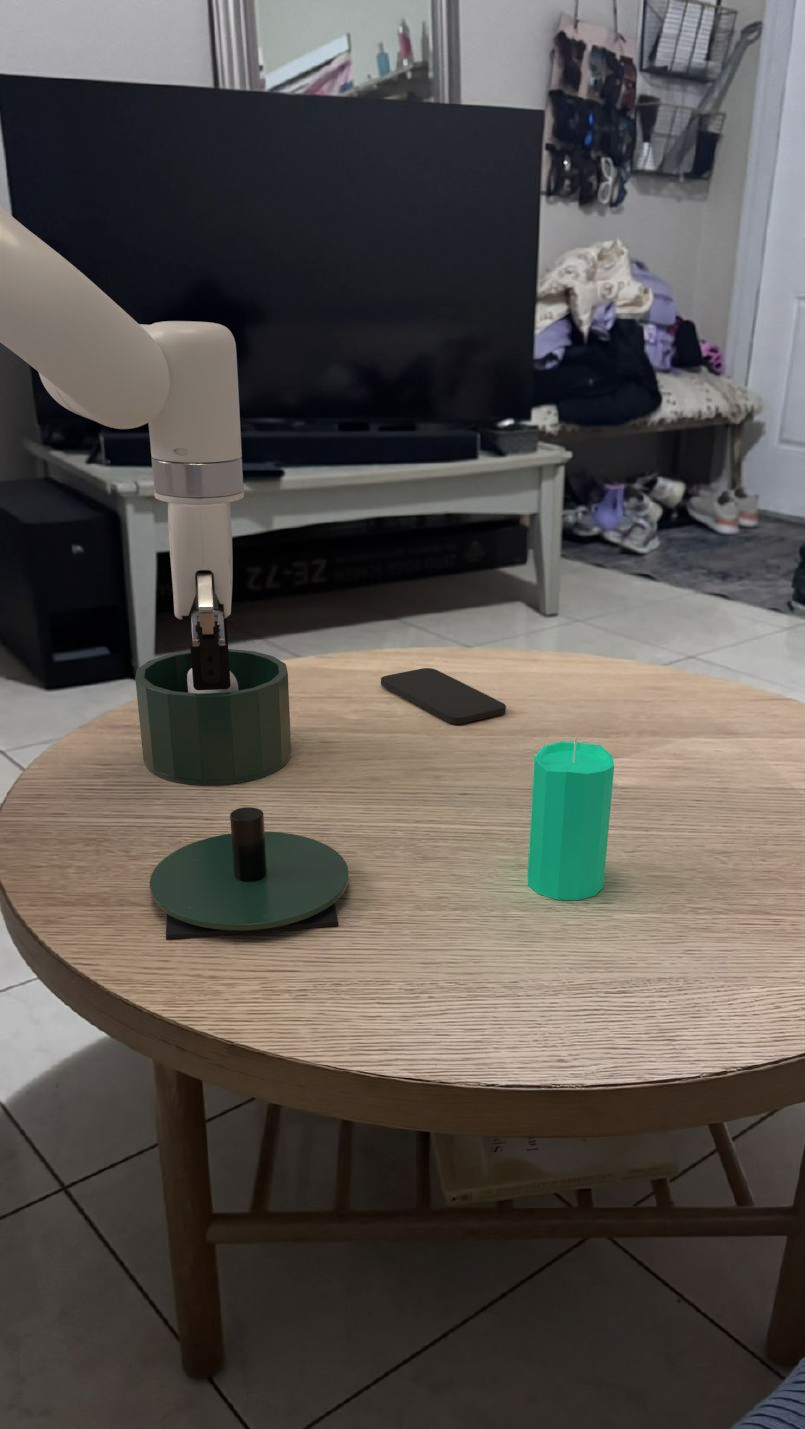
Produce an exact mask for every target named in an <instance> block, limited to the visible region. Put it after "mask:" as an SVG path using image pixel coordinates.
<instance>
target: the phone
mask: <svg viewBox="0 0 805 1429" xmlns="http://www.w3.org/2000/svg"><path fill="white" fill-rule="evenodd" d="M380 685H381V687H383V688H385V689H387V690H389V691H391V692H392V693H394V694H396V695H398V696H399V697H402V698H403V699H405V700H407V701H409V702H411V703H412V704H415V705H416V706H417V707H420V708H421V709H423V710H425V711H427V712H428V713H431V714H432V715H434V716H436V717H437V718H439V719H442V720H444V721H445V722H447V723H450V724H454V725H461V724H466V723H471V722H476V721H479V720H484V719H488V718H493V717H497V716H501V715H504V714H505V713H506V712H507V705H506V704H505V703H504V702H501V701H500V700H498V699H496V698H494V697H492V696H490V695H488V694H486V693H484V692H482V691H479V690H478V689H476V688H474V687H472V686H470V685H468V684H466V683H465V682H462V681H460V680H458V679H456V678H454V677H452V676H450V675H448V674H447V673H444V672H442V671H439V670H438V669H435V668H433V667H432V668H431V667H423V668H418V669H412V670H408V671H401V672H398V673H392V674H389V675H388V674H387V675H383V676H381V678H380Z"/></svg>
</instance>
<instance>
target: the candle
mask: <svg viewBox="0 0 805 1429" xmlns="http://www.w3.org/2000/svg"><path fill="white" fill-rule="evenodd" d="M614 772H615V762H614V758H613V755H612V753H610V752H609V751H608V750H607V749H606V748H605V747H603V745H601V744H597V743H587V742H577V737H576V736H575V737H574V741H558V742H557V741H556V742H552V743H549V744H546V745H543V746H542V747H541V748H540V749H539V750H538V752H537V753H535V755H534V756H533V771H532V789H531V804H530V807H531V808H530V822H529V823H530V824H529V841H528V856H527V857H528V860H527V874H526V876H527V886H528V887H529V888H531V889H532V890H533V891H535V893H536V894H538V895H541V896H544V897H547V898H550V899H552V900H556V901H580V900H584V899H589V898H592V897H595V896H596V895H597V894H598V893H600V892H601V890H602V889H604V882H605V872H606V864H607V863H606V862H607V861H606V860H607V850H608V842H609V841H608V839H609V829H610V828H609V827H610V818H611V809H612V808H611V806H612V795H613V785H614V784H613V783H614V774H615V773H614Z"/></svg>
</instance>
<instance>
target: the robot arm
mask: <svg viewBox="0 0 805 1429" xmlns="http://www.w3.org/2000/svg"><path fill="white" fill-rule="evenodd" d="M235 340H236V339H235V337H234V335H233V333H232V331H231V330H230V329H229V328H228V327H226V326H225V325H222V324H220V323H217V322H216V323H215V322H209V321H192V320H167V321H157V322H153V323H152V324H142V323H138V321H136V320H135V319H134V318H133V317H132V316H131V315H130V314H129V313H127V311H126V310H124V309H123V308H122V307H121V306H120V305H118V304H117V303H116V301H114V300H113V299H112V298H111V297H110V296H108V294H106V293H105V292H104V291H103V290H102V289H101V288H100V287H99V286H97V285H96V283H94V282H93V281H92V280H91V279H90V278H88V276H86V275H85V273H83V272H82V271H80V270H79V269H78V268H77V267H76V266H74V265H73V264H72V263H71V262H70V261H68V259H66V258H65V257H64V256H62V255H61V254H60V253H59V252H57V251H56V250H55V249H54V248H52V247H51V246H50V245H49V244H47V243H46V242H45V241H44V240H42V239H41V238H40V237H38V235H36V234H34V233H33V232H32V231H30V230H29V229H28V228H27V227H25V226H24V225H23V224H22V223H21V222H20V221H18V220H17V219H16V218H15V217H14V216H12V215H11V214H10V213H9V212H8V211H7V210H6V209H5V208H3V206H1V205H0V343H1V344H2V345H3V346H4V347H5V348H7V349H8V350H10V351H11V352H13V353H14V354H15V355H16V356H18V357H19V358H20V359H21V360H23V361H24V362H26V363H27V364H28V365H29V366H31V367H32V368H33V369H34V370H36V371H37V372H38V375H39V378H40V381H41V383H42V385H43V387H44V388H45V390H46V391H47V393H48V394H49V395H50V396H51V397H52V399H53V400H54V401H56V403H58V404H59V405H60V406H62V407H63V408H64V409H66V410H68V411H70V412H72V413H74V414H76V415H79V416H81V417H83V418H85V419H89V420H91V421H93V422H96V423H98V424H100V425H102V426H105V427H108V428H113V429H117V430H130V429H135V428H140V427H142V426H144V425H146V424H148V431H149V432H148V434H149V443H150V455H151V466H152V467H151V468H152V469H151V470H152V480H153V491H154V498H155V499H156V500H158V501H161V502H165V503H167V527H168V528H167V530H168V545H169V546H168V547H169V558H170V568H171V569H170V571H171V584H172V595H173V596H172V597H173V613H174V617H175V618H177V619H178V620H183V617H187V616H189V615H190V619H191V620H190V621H191V622H190V623H191V636H192V638H191V639H192V644H190V645H189V646H190V647H189V648H190V651H191V662H192V675H193V687H194V689H196V690H219V689H229V688H230V685H231V684H230V668H229V652H228V649H229V642H228V641H229V640H228V626H227V618H228V617H229V616H230V615H231V613H232V599H233V580H234V579H233V577H234V575H233V574H234V572H233V570H234V568H233V567H234V566H233V564H234V563H233V559H234V558H233V556H234V555H233V529H232V527H233V526H232V509H231V503H232V502H238V501H240V500H241V499H244V497H245V490H244V489H245V488H244V473H243V455H242V454H243V453H242V452H243V450H242V433H241V432H242V431H241V415H240V414H241V412H240V396H239V394H240V393H239V392H240V391H239V375H238V372H239V371H238V357H237V344H236V341H235Z"/></svg>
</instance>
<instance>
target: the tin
mask: <svg viewBox="0 0 805 1429" xmlns="http://www.w3.org/2000/svg"><path fill="white" fill-rule="evenodd" d="M228 652H229V668H230V671H231V672H232V674H233V675H234V676H235V678H236V680H237V683H238V689H239V691H233V692H226V693H201V694H197V693H188V684H187V674H188V672H189V670H190V669H191V668H192V662H191V650H187V651H186V650H185V651H180V652H172V653H168V654H166V655H162V656H160V657H157V658H153V659H150V660H148V661H146V662H145V663H144V664H142V665H141V666H139V667H138V668H137V669H136V671H135V672H136V673H135V677H134V678H135V679H134V680H135V688H136V689H135V690H136V699H137V710H138V719H139V720H138V721H139V726H140V727H139V729H140V738H141V749H142V758H143V762H144V765H145V766H146V768H147V769H148V771H149V772H150V773H152V774H153V775H155V776H156V777H159V778H161V779H163V780H166V781H170V782H174V783H178V784H179V783H180V784H184V785H185V784H186V785H191V786H192V785H193V786H225V785H226V786H227V785H233V784H234V785H235V784H240V783H246V782H251V781H255V780H258V779H262V778H264V777H267V776H270V775H272V774H274V773H276V772H278V771H279V770H281V769H282V768H284V767H285V766H286V765H287V763H288V762H289V761H290V758H291V754H292V743H291V741H292V740H291V717H290V716H291V715H290V692H289V691H290V690H289V672H288V666H287V664H286V663H285V662H284V661H281V660H280V659H279V658H277V657H275V656H273V655H270V654H267V653H262V652H259V651H254V650H244V649H234V648H233V649H232V648H228Z"/></svg>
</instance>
